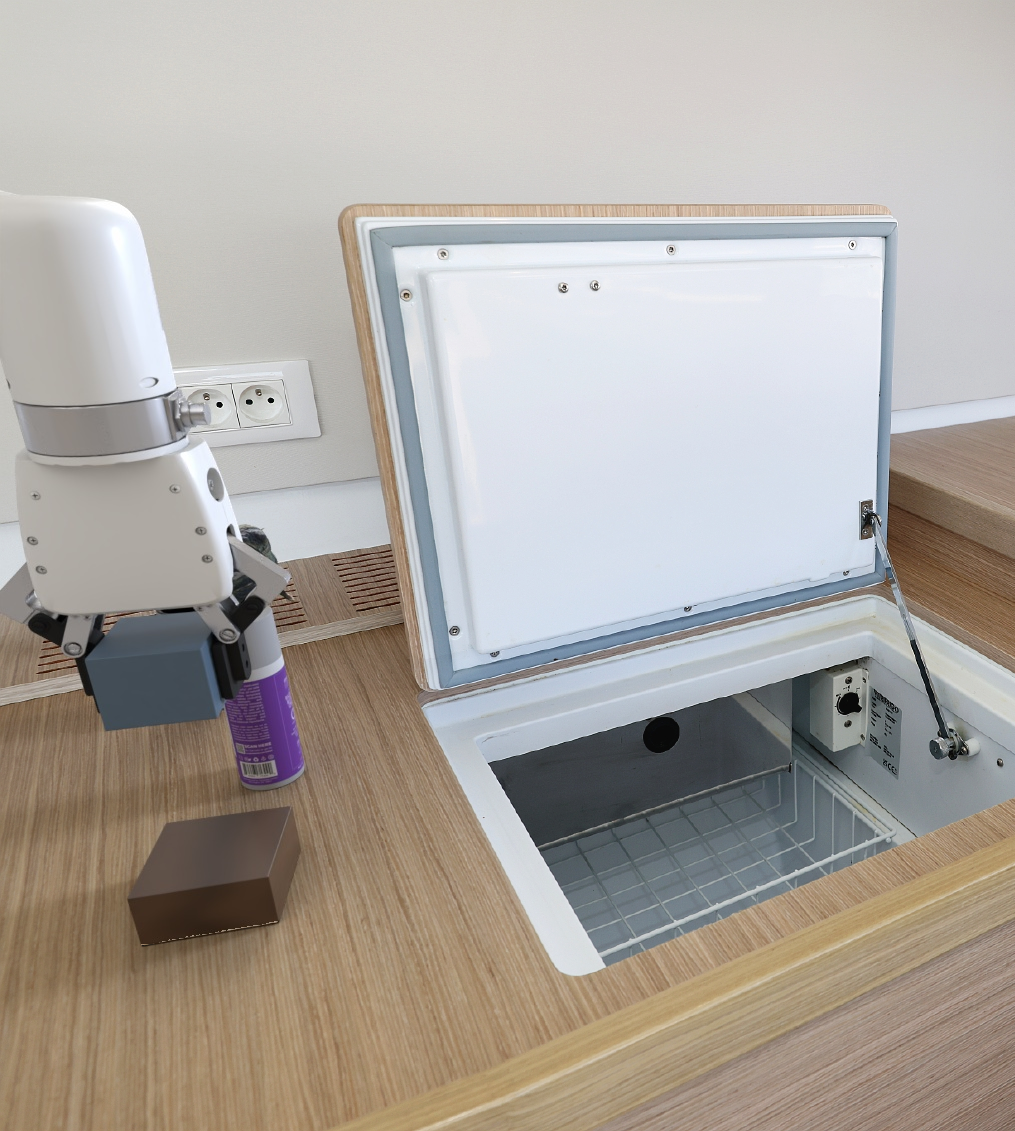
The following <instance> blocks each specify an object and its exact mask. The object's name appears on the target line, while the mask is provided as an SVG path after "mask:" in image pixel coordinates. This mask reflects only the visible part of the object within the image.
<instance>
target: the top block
mask: <svg viewBox="0 0 1015 1131" xmlns="http://www.w3.org/2000/svg"><path fill="white" fill-rule="evenodd" d="M214 641H215V637H214V633H213V632H212V631H211V630H210V628H209V627H208V626H207V625H206V623H205V622H204V621H203V619H202V618H201V617H200V616H199V614H198V613H197V612H187V613H175V614H163V615H156V614H154V615H153V614H152V615H151V614H150V615H139V616H128V617H127V616H126V617H120V618H119V619H117V621H116V622H115V623H114V624H113V626H112V627H111V628H110V629H109V630H108V631H107V632H106V634H105V636H104V638H103V639H102V640H101V641H100V642H99V643H98V645H97V646H96V647H95V648H94V649H93V651H92V652H91V653H90V654H89V655H88V656H87V658H86V659H85V663H86V667H87V670H88V674H89V677H90V680H91V684H92V687H93V691H94V694H95V697H96V701H97V704H98V708H99V711H100V714H99V715H100V717H101V722H102V724H103V728H104V731H105V732H110V731H111V732H112V731H119V730H128V729H137V728H138V729H139V728H148V727H154V726H155V727H156V726H165V725H172V724H182V723H190V722H199V721H208V720H216V719H218V718H219V716H220V715H221V712H222V710H223V709H224V708H223V706H224V704H225V702H226V700H225V699H224V698H222V697H221V693H220V688H219V684H218V680H217V676H216V671H215V667H214V663H213V659H212V654H211V646H212V644H213V643H214ZM222 708H223V709H222Z"/></svg>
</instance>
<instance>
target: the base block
mask: <svg viewBox="0 0 1015 1131" xmlns="http://www.w3.org/2000/svg"><path fill="white" fill-rule="evenodd" d="M301 850H302V847H301V841H300V837H299V832H298V827H297V823H296V817H295V813H294V808H293V806H292V805H287V806H279V807H273V808H266V809H258V810H250V811H244V812H243V811H242V812H236V813H229V814H221V815H214V816H208V817H206V816H205V817H199V818H193V819H184V820H178V821H177V820H176V821H171V822H166V823H165V825H164V827H162V830H161V832H160V834H159V835H158V838H157V840H156V841H155V844H154V845H153V847H152V850H151V852H150V854H149V855H148V857H147V859H146V861H145V862H144V865H143V867H142V869H141V871H140V873H139V875H138V877H137V879H136V881H135V883H134V884H133V887H132V888H131V890H130V893H129V894H128V896H127V897H126V898H127V899H126V900H127V904H128V907H129V910H130V914H131V916H132V920H133V923H134V927H135V930H136V933H137V937H138V941H139V943H140V945H141V944H153V943H159V942H162V941H168V940H169V939H170V940H172V939H179V938H185V937H186V936H188V937H190V936H192V935H194V936H196V935H199V934H200V935H202V934H209V933H215V932H218V931H219V932H221V931H222V930H226V931H227V930H228V929H235V928H241V927H247V926H253V925H262V924H266V923H269V922H274V921H278V920H279V919H280V920H281V918H280V915H281V916H282V914H283V911H282V909H283V910H284V908H283V906H284V907H285V904H286V901H285V899H286V900H287V898H288V893H289V890H290V887H291V884H292V880H293V877H294V873H295V870H296V867H297V865H298V861H299V857H300V854H301ZM286 897H287V898H286ZM284 903H285V904H284ZM281 913H282V914H281ZM159 944H160V943H159ZM153 945H154V944H153Z"/></svg>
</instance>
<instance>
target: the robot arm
mask: <svg viewBox="0 0 1015 1131" xmlns="http://www.w3.org/2000/svg"><path fill="white" fill-rule="evenodd" d="M158 302H159V301H158V298H157V293H156V288H155V284H154V278H153V274H152V271H151V266H150V261H149V257H148V253H147V248H146V243H145V240H144V236H143V232H142V228H141V226H140V224H139V222H138V219H137V218H136V217H135V216H134V214H133V213H132V212H131V211H130V210H129V209H128V208H127V207H125V206H124V205H122V204H121V203H119V202H116V201H113V200H110V199H105V198H99V197H92V196H77V195H57V194H55V195H54V194H46V195H45V194H18V193H14V192H10V191H5V190H2V189H0V363H1V366H2V370H3V374H4V377H5V380H6V382H7V387H8V390H9V393H10V397H11V399H12V404H13V408H14V411H15V414H16V419H17V421H18V425H19V428H20V432H21V435H22V438H23V442H24V445H25V447H24V448H22V449H21V450H20V451H19V452H17V453H16V454H15V466H14V468H15V469H14V473H15V475H14V476H15V497H16V508H17V509H16V510H17V517H18V524H19V531H20V532H19V533H20V537H21V538H20V539H21V542H22V547H23V552H24V558H25V563H24V564H23V565H21V567H20V568H19V569H18V570H16V572H15V573H14V574H13V576H12V577H11V578H10V579H9V580H8V581H7V582H6V583H5V584H4V585H3V586H2V588H0V614H2V615H4V616H5V617H8V618H10V619H12V620H13V621H15V622H16V623H18V624H21V625H25V626H27V627H28V629H29V630H30V631H31V632H32V633H34V634H35V635H37V636H39V637H41V638H42V639H45V640H47V641H49V642H51V643H52V644H55V645H56V646H58V647H60V651H61V653H62V654H63V655H64V656H66V657H68V658H71V659H74V661H75V665H76V668H77V671H78V675H79V677H80V682H81V685H82V688H83V692H84V694H85V695H86V696H87V697H93V701H94V704H95V708H96V711H97V713H98V714H99V715H100V711H99V708H98V704H97V701H96V697H95V694H94V691H93V687H92V684H91V680H90V677H89V674H88V670H87V667H86V663H85V659H86V658H87V656H88V655H89V654H90V653H91V652H92V651H93V649H94V648H95V647H96V646H97V645H98V643H99V642H100V641H101V640H102V639H103V638H104V636H105V635H106V634H105V632H103V628H104V623H105V620H106V616H107V615H108V614H109V615H112V614H124V613H125V614H126V613H137V612H139V613H140V612H150V611H151V612H152V611H156V610H163V609H175V608H187V607H193V608H194V609H195V611H196V612H197V613H198V614H199V616H200V617H201V618H202V619H203V621H204V622H205V623H206V625H207V626H208V627H209V628H210V630H211V631H212V632H213V633H214V637H215V641H214V643H213V644H212V646H211V654H212V659H213V663H214V667H215V671H216V676H217V680H218V684H219V688H220V693H221V697H222V698H224V699H225V700H229V699H235V698H236V696H237V694H238V692H239V690H240V688H241V686H242V684H243V682H244V680H249V678H250V676H251V670H252V669H251V662H250V657H249V653H248V648H247V644H246V639H245V635H244V631H245V630H246V629H247V628H248V627H249V626H250V625H251V624H252V623H253V621H254V620H255V619H256V618H257V617H258V616H259V615H260V614H261V613H262V611H263V610H264V609H265V608H266V607H267V606H270V605H271V603H272V602H274V601H275V599H276V598H277V597H278V596H279V595H280V593H281V592H282V591H283V590H284V591H285V589H286V588H287V586H288V584H289V582H290V580H291V574H290V572H289V571H288V570H287V569H285V568H284V567H283V566H280V565H279V564H278V565H277V564H276V563H274V562H273V561H271V560H270V559H268V558H267V557H265V556H263V555H262V554H260V553H259V552H257V551H256V550H254V549H253V548H251V547H250V546H248V545H247V544H245V543H243V541H242V537H241V533H240V530H239V527H238V526H239V524H238V523H239V522H238V520H237V516H236V514H235V511H234V507H233V505H232V502H231V499H230V496H229V493H228V490H227V487H226V485H225V482H224V479H223V476H222V473H221V471H220V469H219V467H218V464H217V461H216V459H215V457H214V455H213V453H212V451H211V449H210V446H209V445H208V442H207V441H206V438H205V437H202V436H199V435H188V433H189V432H190V431H191V429H192V428H196V427H197V426H209V425H211V423H212V412H211V408H210V405H209V403H207V402H206V401H205V402H204V401H203V402H194V401H193V400H187V399H186V397H185V395H184V396H183V390H182V388H179V387H177V383H176V382H177V381H176V378H175V373H174V369H173V365H172V359H171V356H170V351H169V347H168V341H167V336H166V333H165V328H164V324H163V320H162V316H161V311H160V307H159V303H158ZM242 575H246V576H248V577H249V578H251V579H252V580H254V581H255V582H256V585H257V586H256V587H255V588H254V589H253V590H252V591H251V592H249V593H248V595H247V596H246V597H245V598H244V599H243V600H242V601H241V602H240V603H239V602H238V601H237V599H236V598H235V597H234V596H233V594H232V590H233V583H232V580H234V579H237V578H239V577H241V576H242Z"/></svg>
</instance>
